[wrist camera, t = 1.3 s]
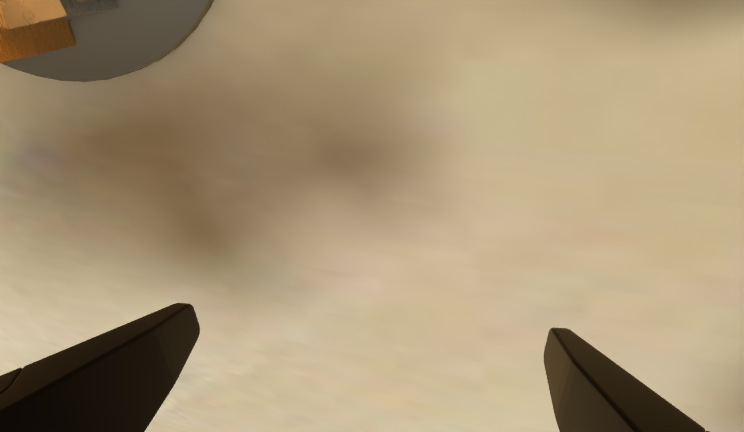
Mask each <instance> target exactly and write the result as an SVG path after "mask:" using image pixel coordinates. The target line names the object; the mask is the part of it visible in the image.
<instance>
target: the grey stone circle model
mask: <svg viewBox="0 0 744 432" xmlns="http://www.w3.org/2000/svg"><path fill="white" fill-rule="evenodd" d="M115 1H116V3H117V5H118V8H116V9H112V10H108V11H104V12H99V13H95V14H91V15H87V16H83V17H78V18H74V19H70V20H67V21H68V24H69V27H70V30H71V33H72V37H73V40H74V43H75V46H71V47H66V48H62V49H57V50H53V51H49V52H44V53H40V54H36V55H31V56H27V57H23V58H18V59H14V60H9V61H5V62H1V63H2V64H4V65H7V66H9V67H11V68H14V69H17V70H20V71H23V72H26V73H30V74H33V75H36V76H40V77H45V78H51V79H56V80H61V81H82V82H86V81H96V80H105V79H110V78H114V77H117V76H121V75H124V74H128V73H131V72H134V71H136V70H139V69H142V68H144V67H146V66H148V65H150V64H152V63H154V62H156V61H158V60H160V59H162V58H163V57H165V56H166V55H167V54H169V53H170V52H172V51H173V50H174V49H176V48H177V47H178V46H180V45H181V43H182V42H183V41H184V40H185V39H186V38H187V37H188V36H189V35H190V34H191V33H192V32H193V31H194V30H195V29H196V28H197V26H198V25H199V23H200V22H201V20H202V19H203V17H204V16H205V14H206V13H207V11H208V10H209V8H210V7H211V5H212V3H213V1H214V0H115Z"/></svg>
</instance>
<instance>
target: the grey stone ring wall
mask: <svg viewBox="0 0 744 432" xmlns="http://www.w3.org/2000/svg"><path fill="white" fill-rule="evenodd" d="M116 8H118V5H117V3H116V1H115V0H0V63H1V62H5V61H9V60H14V59H18V58H23V57H27V56H31V55H36V54H40V53H44V52H49V51H53V50H57V49H62V48H66V47H71V46H75V43H74V40H73V37H72V33H71V30H70V27H69V24H68V21H67V20H70V19H74V18H78V17H83V16H87V15H91V14H95V13H99V12H104V11H108V10H112V9H116Z"/></svg>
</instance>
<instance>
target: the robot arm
mask: <svg viewBox="0 0 744 432" xmlns="http://www.w3.org/2000/svg"><path fill="white" fill-rule="evenodd" d="M199 333H200V327H199V323H198V320H197V317H196V314H195V311H194V308H193V306H192V305H191V304H186V303H176V304H173V305H170V306H168V307H166V308H163V309H161V310H158V311H156V312H154V313H151V314H149V315H146V316H144V317H142V318H139V319H137V320H134V321H132V322H130V323H127V324H125V325H122V326H120V327H118V328H115V329H113V330H111V331H108V332H106V333H103V334H101V335H99V336H96V337H94V338H91V339H89V340H87V341H84V342H82V343H79V344H77V345H75V346H72V347H70V348H67V349H65V350H63V351H60V352H58V353H55V354H53V355H51V356H48V357H46V358H43V359H41V360H39V361H36V362H34V363H32V364H29V365H27V366H25V367H23V369H22V368H18V369H16V370H13V371H11V372H9V373H6V374H4V375H1V376H0V432H144V431H145V430H146V428H147V427H148V425H149V424H150V422H151V421H152V419H153V417H154V416H155V414H156V413H157V411H158V410H159V408H160V406H161V405H162V403H163V402H164V400H165V399H166V397H167V396H168V394H169V392H170V391H171V389H172V388H173V386H174V384H175V382H176V381H177V379H178V377H179V375H180V373H181V371H182V369H183V367H184V365H185V363H186V361H187V359H188V357H189V355H190V353H191V351H192V349H193V347H194V345H195V343H196V341H197V339H198V337H199ZM544 365H545V370H546V375H547V379H548V384H549V389H550V394H551V399H552V404H553V409H554V413H555V417H556V421H557V424H558V427H559V430H560V432H705V429H704V428H703V427H702V426H700V425H699V424H698V423H696V422H695V421H694V420H692V419H691V418H689V417H688V416H687V415H685V414H684V413H683V412H681V411H680V410H679V409H677V408H676V407H674V406H673V405H672V404H670V403H669V402H668V401H666V400H665V399H664V398H662V397H661V396H659V395H658V394H657V393H655V392H654V391H653V390H651V389H650V388H649V387H647V386H646V385H644V384H643V383H642V382H640V381H639V380H638V379H636V378H635V377H634V376H632V375H631V374H629V373H628V372H627V371H625V370H624V369H623V368H621V367H620V366H619V365H617V364H616V363H614V362H613V361H612V360H610V359H609V358H608V357H606V356H605V355H604V354H602V353H601V352H600V351H598V350H597V349H595V348H594V347H593V346H591V345H590V344H589V343H587V342H586V341H585V340H583V339H582V338H580V337H579V336H578V335H576V334H575V333H574V332H572V331H571V330H569V329H566V328H551V329H550V331H549V333H548V338H547V342H546V346H545V350H544ZM706 432H709V431H706Z"/></svg>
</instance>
